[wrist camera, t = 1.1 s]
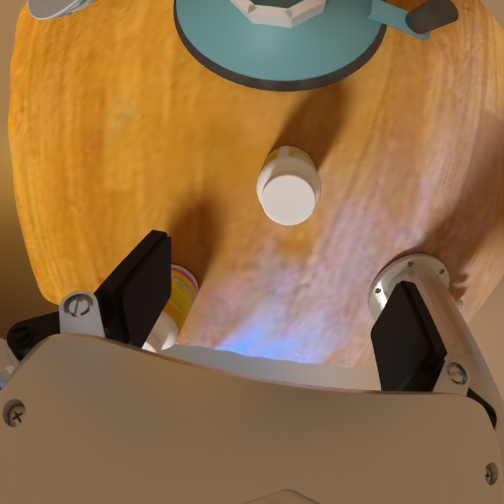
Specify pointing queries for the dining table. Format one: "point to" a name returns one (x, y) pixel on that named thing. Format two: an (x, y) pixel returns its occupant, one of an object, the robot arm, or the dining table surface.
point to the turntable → (298, 32)
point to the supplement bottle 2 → (288, 185)
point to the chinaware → (56, 7)
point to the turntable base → (282, 85)
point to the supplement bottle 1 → (173, 311)
